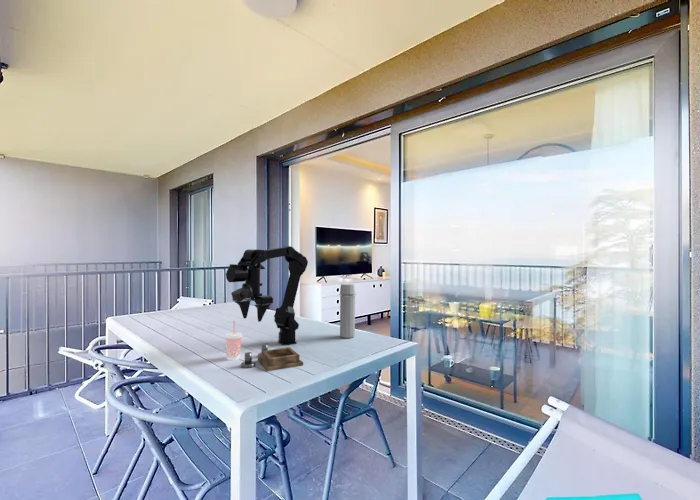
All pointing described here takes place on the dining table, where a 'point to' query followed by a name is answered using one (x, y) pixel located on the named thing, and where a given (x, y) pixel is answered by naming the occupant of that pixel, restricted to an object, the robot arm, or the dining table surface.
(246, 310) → the robot arm
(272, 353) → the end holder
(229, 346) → the beverage cup
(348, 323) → the water bottle
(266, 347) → the knob
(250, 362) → the knob
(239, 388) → the dining table surface
